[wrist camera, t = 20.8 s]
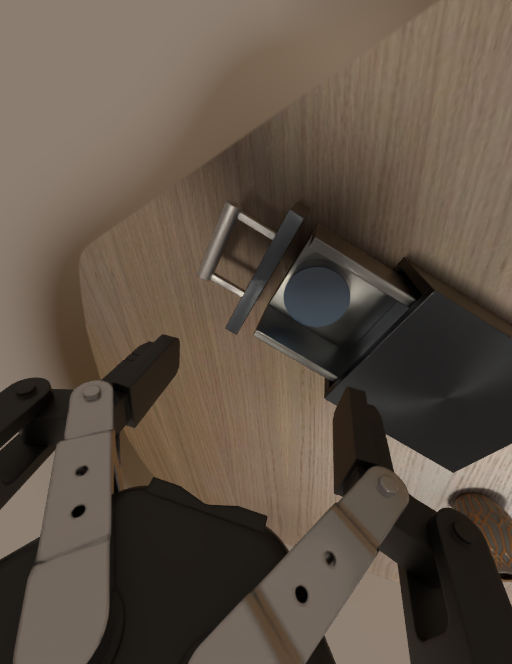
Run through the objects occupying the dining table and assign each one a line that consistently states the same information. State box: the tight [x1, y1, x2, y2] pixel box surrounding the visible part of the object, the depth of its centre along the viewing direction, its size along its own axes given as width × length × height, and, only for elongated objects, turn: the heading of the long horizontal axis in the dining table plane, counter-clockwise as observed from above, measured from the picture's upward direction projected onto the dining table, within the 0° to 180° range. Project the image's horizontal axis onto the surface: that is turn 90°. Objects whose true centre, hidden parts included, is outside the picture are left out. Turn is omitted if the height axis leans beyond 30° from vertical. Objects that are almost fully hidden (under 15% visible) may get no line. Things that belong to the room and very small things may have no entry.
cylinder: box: [283, 259, 350, 327], centre depth 25 cm, size 6×6×2 cm
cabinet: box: [324, 258, 512, 473], centre depth 25 cm, size 15×13×9 cm
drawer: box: [197, 200, 422, 383], centre depth 24 cm, size 18×11×7 cm, turn 63°
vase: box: [452, 493, 512, 582], centre depth 35 cm, size 7×7×9 cm
